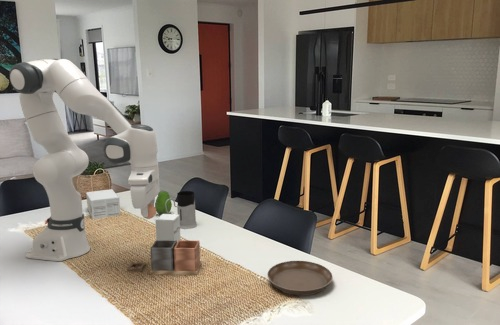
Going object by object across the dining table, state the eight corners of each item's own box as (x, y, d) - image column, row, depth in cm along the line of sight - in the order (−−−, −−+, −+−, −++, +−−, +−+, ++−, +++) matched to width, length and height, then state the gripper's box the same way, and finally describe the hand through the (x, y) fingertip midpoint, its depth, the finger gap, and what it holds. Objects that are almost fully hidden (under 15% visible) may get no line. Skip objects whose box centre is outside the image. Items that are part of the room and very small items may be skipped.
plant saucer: (316, 306, 128) (316, 295, 127) (255, 288, 139) (255, 278, 138) (341, 278, 145) (342, 269, 145) (285, 264, 156) (286, 256, 155)
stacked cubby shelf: (150, 274, 149) (148, 249, 147) (157, 263, 158) (155, 239, 156) (197, 274, 148) (196, 249, 146) (201, 263, 157) (200, 239, 155)
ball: (139, 221, 147) (138, 206, 146) (144, 216, 152) (142, 202, 151) (154, 220, 147) (153, 206, 146) (158, 216, 152) (157, 202, 151)
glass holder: (200, 226, 196) (199, 193, 193) (170, 232, 188) (169, 199, 185) (191, 221, 203) (190, 189, 200) (162, 227, 195) (160, 194, 192)
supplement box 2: (174, 252, 168) (173, 220, 165) (156, 250, 169) (154, 219, 167) (181, 244, 175) (180, 214, 172) (163, 243, 176) (162, 213, 174)
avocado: (170, 217, 209) (169, 192, 206) (153, 217, 209) (152, 192, 206) (173, 212, 216) (172, 188, 214) (157, 212, 217) (156, 188, 214)
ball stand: (126, 271, 151) (126, 268, 151) (131, 265, 156) (131, 262, 156) (141, 271, 151) (141, 268, 151) (146, 265, 156) (145, 262, 156)
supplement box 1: (87, 210, 222) (85, 192, 220) (113, 206, 228) (112, 188, 226) (92, 219, 207) (90, 200, 205) (120, 215, 213) (119, 196, 211)
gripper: (145, 167, 157) (148, 204, 159) (126, 181, 137) (129, 223, 139) (162, 167, 156) (165, 204, 159) (146, 180, 136) (149, 223, 139)
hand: (148, 213), depth 149 cm, fingers closed on ball, 5 cm apart
